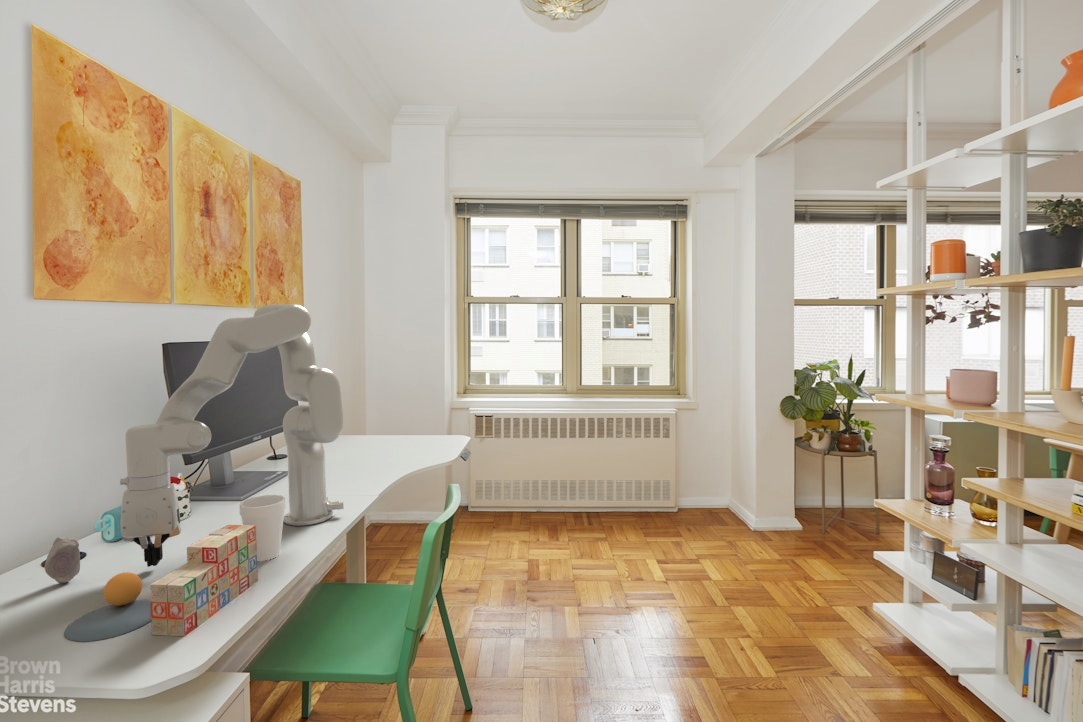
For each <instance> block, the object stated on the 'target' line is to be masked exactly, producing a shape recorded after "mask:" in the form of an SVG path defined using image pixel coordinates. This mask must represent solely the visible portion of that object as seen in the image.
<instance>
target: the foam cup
mask: <svg viewBox="0 0 1083 722" xmlns="http://www.w3.org/2000/svg"><path fill="white" fill-rule="evenodd" d="M285 509H286V497H285V496H283V495H277V494H267V495H258V496H253V497H250V498H247V499H245V500H243V501H241V502H240V504H239V516H240V517H241V522H242V525H255V526H256V540H257V561H259V562H266V561H265V560H267V561H271V560H274V559H275V557H276V558H277V557H279V556H280V553H281V548H282V547H281V546H282V537H283V529H284V527H283V526H284V516H285ZM278 555H279V556H278ZM273 558H274V559H273ZM270 559H271V560H270Z"/></svg>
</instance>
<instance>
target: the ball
mask: <svg viewBox="0 0 1083 722" xmlns="http://www.w3.org/2000/svg"><path fill="white" fill-rule="evenodd" d="M142 590H143V582H142V579H141V578H140V576H139V575H137V574H136V573H133V572H130V571H129V572H121V573H117V574H116V575H114V576H113V577H111V578H110V579H109V580H108V581H107V582H106V584H105V586H104V589H103V598H104V600H105V601H106V602H107V603H108V604H109V605H114V606H123V605H127V604H129V603H131V602H133V601H134V600H137V598H139V596H140V595H141V593H142Z"/></svg>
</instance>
